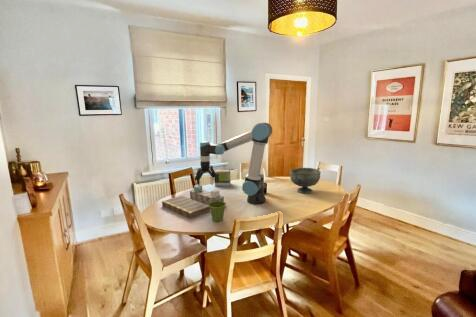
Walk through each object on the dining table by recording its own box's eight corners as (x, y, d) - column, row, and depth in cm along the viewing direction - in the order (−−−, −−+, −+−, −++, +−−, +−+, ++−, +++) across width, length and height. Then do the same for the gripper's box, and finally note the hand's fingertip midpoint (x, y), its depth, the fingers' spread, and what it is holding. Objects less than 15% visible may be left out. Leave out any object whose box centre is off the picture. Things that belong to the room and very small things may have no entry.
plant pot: (212, 215, 176) (212, 200, 174) (228, 217, 173) (228, 201, 171) (205, 222, 165) (205, 206, 163) (222, 224, 162) (222, 208, 160)
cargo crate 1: (202, 190, 210) (202, 185, 209) (197, 192, 207) (197, 187, 206) (198, 189, 214) (198, 184, 213) (193, 191, 210) (193, 185, 209)
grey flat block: (210, 211, 184) (210, 205, 183) (190, 218, 171) (190, 213, 170) (181, 200, 207) (181, 195, 207) (162, 206, 194) (161, 201, 194)
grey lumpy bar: (224, 204, 197) (223, 196, 196) (215, 208, 191) (215, 199, 189) (198, 196, 218) (198, 188, 217) (190, 198, 212) (189, 190, 210)
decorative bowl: (326, 192, 222) (326, 170, 219) (307, 198, 208) (307, 175, 205) (303, 186, 244) (303, 166, 241) (284, 191, 230) (284, 170, 227)
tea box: (230, 183, 255) (230, 169, 252) (229, 186, 245) (229, 171, 242) (216, 183, 256) (215, 169, 254) (214, 186, 247) (213, 171, 244)
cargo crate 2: (219, 196, 196) (219, 190, 195) (214, 197, 193) (214, 192, 192) (215, 194, 200) (215, 189, 199) (210, 196, 196) (210, 190, 195)
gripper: (213, 158, 210) (213, 182, 214) (189, 162, 191) (190, 188, 195) (219, 159, 205) (219, 183, 209) (195, 163, 187) (196, 190, 191)
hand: (205, 186), depth 202 cm, fingers open, 13 cm apart
